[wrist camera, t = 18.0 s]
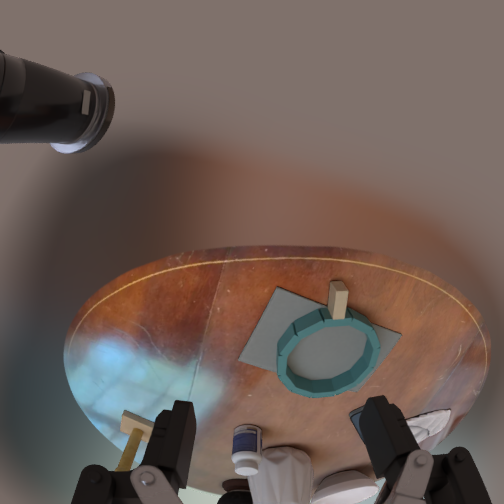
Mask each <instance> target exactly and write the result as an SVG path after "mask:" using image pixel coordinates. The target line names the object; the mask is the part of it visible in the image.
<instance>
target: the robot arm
mask: <svg viewBox="0 0 504 504" xmlns="http://www.w3.org/2000/svg"><path fill="white" fill-rule="evenodd" d="M98 108H99V95H98V91H97V89H96V87H95V86H94V85H93V84H92V83H91V82H89V81H86V80H82V79H79V78H76V77H74V76H72V75H69V74H66V73H63V72H60V71H58V70H55V69H52V68H49V67H47V66H44V65H41V64H38V63H35V62H31V61H28V60H25V59H22V58H18V57H14V56H10V55H7V54H5V53H4V52H3V51H1V50H0V144H10V143H59V144H73V143H75V142H77V141H79V140H80V139H82V138H83V137H84V136H85V135H86V134H87V133H88V131H89V130H90V128H91V127H92V125H93V123H94V121H95V119H96V116H97V113H98ZM404 418H405V417H404V416H403V414H402V412H401V410H400V409H399V408H398V407H397V406H396V405H394V404H389V403H388V401H387V399H386V397H385V396H384V395H382V396H376V397H370V398H368V399H367V401H366V404H365V406H364V408H363V410H362V413H361V415H360V417H359V428H360V431H361V434H362V437H363V439H364V442H365V445H366V448H367V451H368V454H369V457H370V460H371V463H372V466H373V469H374V472H375V475H376V478H377V479H378V478H382V477H385V479H386V481H385V483H384V485H383V487H382V489H381V491H380V493H379V495H378V497H377V499H376V501H375V503H374V504H492V503H491V500H490V498H489V495H488V492H487V490H486V488H485V485H484V483H483V481H482V478H481V476H480V474H479V471H478V469H477V467H476V465H475V463H474V461H473V459H472V456H471V455H470V453H469V451H468V450H467V449H466V448H464V447H455V448H453V449H452V450H451V451H450V452H449V453H448V454H441V455H431V454H430V453H429V452H428V451H426V450H421V449H420V447H419V446H418V443H417V441H416V439H415V437H414V435H413V433H412V431H411V429H410V427H409V426H408V423H407V421H406V419H404ZM195 434H196V418H195V413H194V407H193V403H192V402H188V401H180V400H176V401H175V402H174V405H173V409H172V411H171V410H163V411H162V412H161V413H160V414H159V415H158V416H157V417H156V420H155V423H154V428H153V429H152V432H151V436H150V439H149V442H148V445H147V448H146V451H145V454H144V457H143V460H142V462H141V464H140V465H139V466H138V467H137V468H135V469H133V470H130V471H108V470H107V469H106V468H104V467H103V466H100V465H95V464H94V465H89V466H87V467H85V468H84V469H83V470H82V472H81V475H80V478H79V481H78V484H77V487H76V490H75V493H74V496H73V499H72V502H71V504H183V503H182V501H181V500H180V498H179V497H178V491H179V488H182V489H186V485H187V479H188V473H189V468H190V462H191V456H192V451H193V445H194V440H195ZM423 496H424V498H425V499H423Z"/></svg>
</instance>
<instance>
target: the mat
mask: <svg viewBox="0 0 504 504" xmlns="http://www.w3.org/2000/svg"><path fill="white" fill-rule="evenodd" d="M327 307H328V306H326V305H323V304H320V303H318V302H315V301H313V300H310V299H308V298H305V297H303V296H300V295H297V294H295V293H292V292H290V291H287V290H285V289H282V288H280V287H276V289H275V291H274V293H273V295H272V297H271V299H270V301H269V303H268V305H267V306H266V308H265V310H264V312H263V314H262V316H261V318H260V320H259V322H258V323H257V325H256V327H255V329H254V331H253V333H252V334H251V336H250V338H249V340H248V342H247V344H246V345H245V347H244V349H243V351H242V353H241V355H240V356H239V358H238V360H239V361H242V362H245V363H248V364H251V365H254V366H257V367H260V368H263V369H266V370H270V371H273V372H276V373H277V365H276V356H277V343H278V340H279V339H280V338H281V336H282V335H283V334H284V332H285V331H286V330H287V328H288V327H289V326H290V324H291V323H294V320H296V319H298V318H300V317H302V316H304V315H306V314H308V313H310V312H312V311H314V310H316V309H318V310H319V311H320V308H327ZM371 325H372V326H373V328H374V329H375V332H376V334H377V337H378V340H379V342H380V345H381V346H380V347H381V349H380V353H379V356H378V359H377V363H376V366H375V367H374V369H373V370H372V371H371V372H370V373H369V375H368V376H367V377H366V378H365V379H364V380H363V381H362V382H361V383H360V384H357V386H355V387H353V388H351V389H349V390H348V391H353V392H358V391H359V390H360V388H361V387H362V386H363V385H364V384H365V383H366V381H367V380H368V379H369V378H370V377H371V375H372V374H373V373H374V372H375V371H376V369H377V368H378V367H379V366H380V364H381V363H382V362H383V360H384V359H385V358H386V357H387V355H388V354H389V353H390V351H391V350H392V349H393V347H394V346H395V344H396V343H397V342H398V340H399V339H400V337H401V336H402V334H400V333H397V332H395V331H392V330H389V329H386V328H384V327H381V326H378V325H376V324H373V323H371ZM366 340H367V337H366V335H365V333H363V332H361V331H359V330H357V329H355V328H353V327H351V326H337V327H325V328H323V329H321V330H319V331H317V332H315V333H313V334H311V335H309V336H307V337H305V338H303V339H301V340H300V341H299V343H298V344H297V345H296V346H295V348H294V349H293V350H292V351H291V353H290V354H289V355H288V356H287V365H288V366H289V368H290V369H291V371H292V372H293V373H294V374H295V375H298V376H300V377H303V378H306V379H309V380H321V379H331V378H333V377H335V376H337V375H340V374H342V373H344V372H346V371H348V370H350V369H351V367H352V366H353V365H354V364H355V363H356V362H357V361H358V360H359V359H360V357H361V356H362V355H363V352H364V348H365V344H366Z"/></svg>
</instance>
